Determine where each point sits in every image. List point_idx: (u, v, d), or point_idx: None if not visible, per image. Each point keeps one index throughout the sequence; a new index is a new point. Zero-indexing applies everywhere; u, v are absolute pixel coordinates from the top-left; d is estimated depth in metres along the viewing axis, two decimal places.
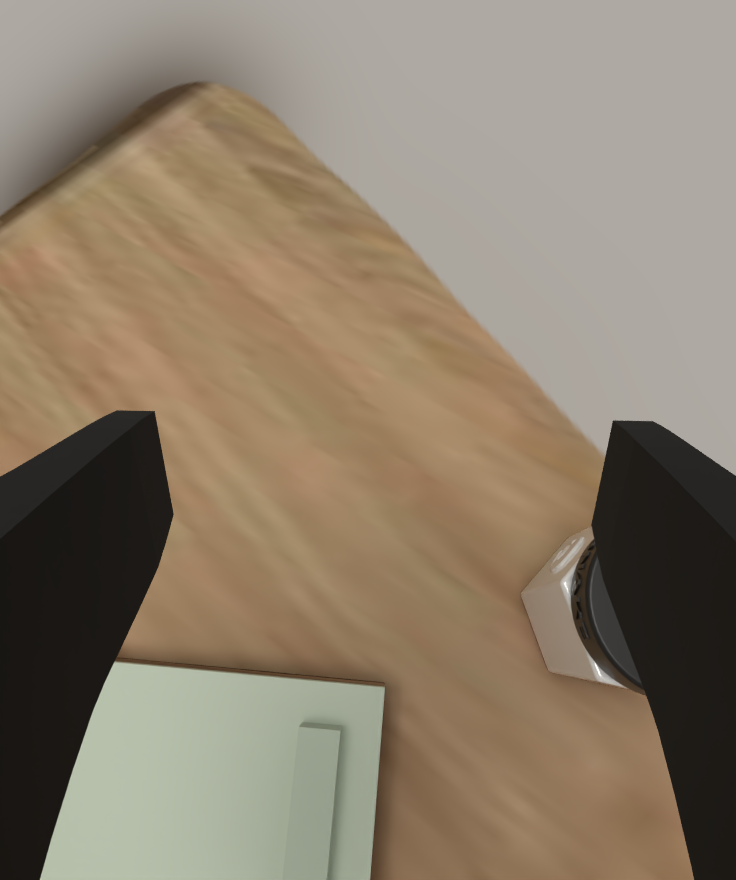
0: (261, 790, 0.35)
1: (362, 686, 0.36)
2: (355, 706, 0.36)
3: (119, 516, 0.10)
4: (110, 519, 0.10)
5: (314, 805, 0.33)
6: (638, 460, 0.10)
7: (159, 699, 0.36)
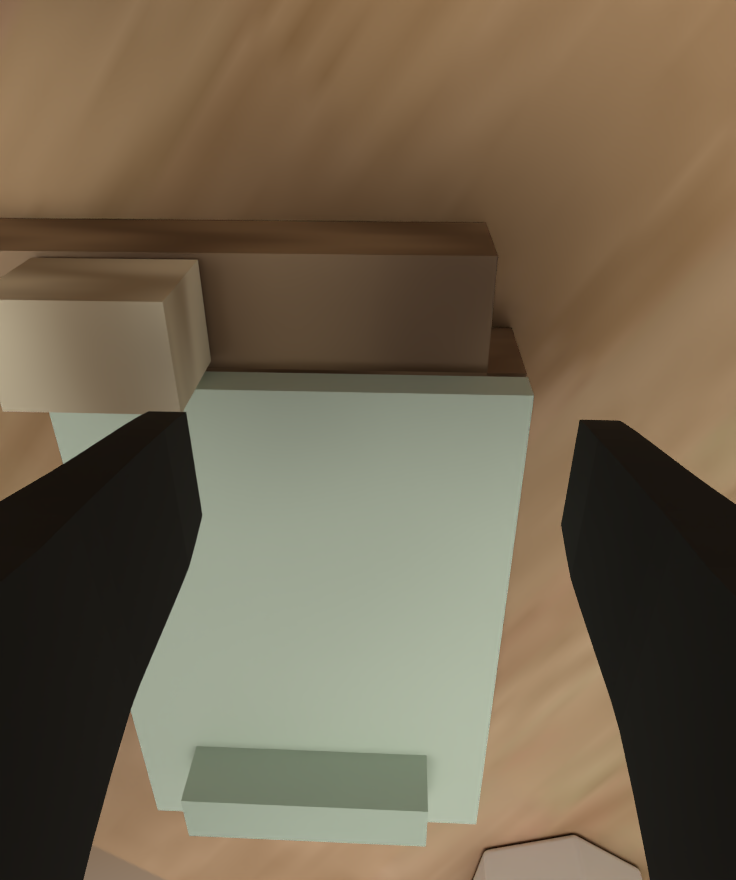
0: (329, 720, 0.23)
1: (477, 805, 0.26)
2: (450, 800, 0.26)
3: (154, 517, 0.10)
4: (147, 520, 0.10)
5: (325, 827, 0.23)
6: (601, 459, 0.10)
7: (451, 597, 0.20)
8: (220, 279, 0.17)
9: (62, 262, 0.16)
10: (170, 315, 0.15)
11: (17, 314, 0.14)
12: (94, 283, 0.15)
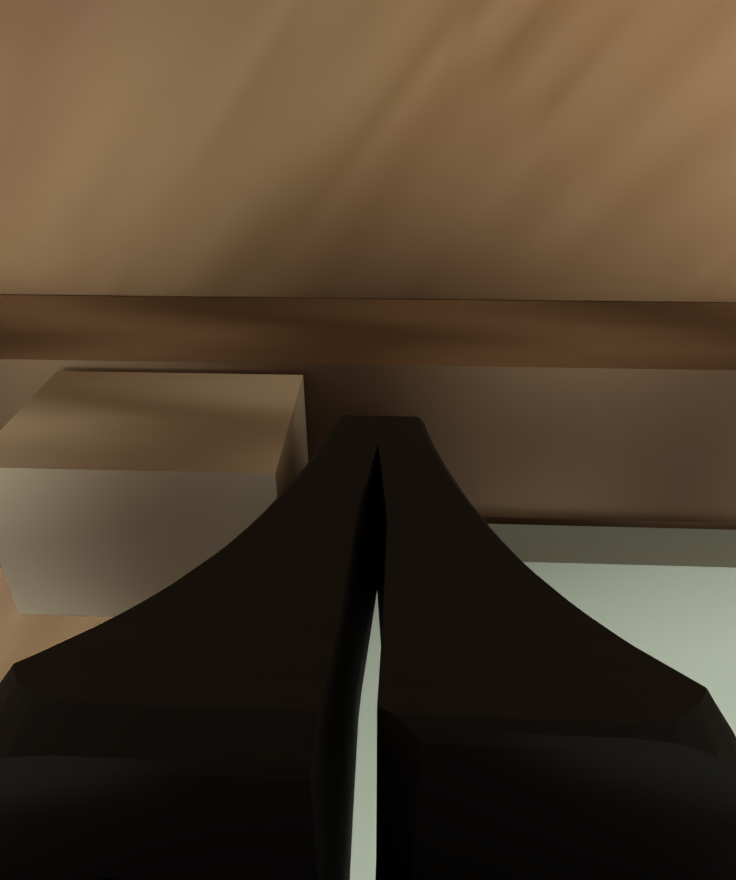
0: None
1: None
2: None
3: (373, 523, 0.10)
4: (371, 527, 0.09)
5: None
6: None
7: None
8: (408, 401, 0.12)
9: (104, 381, 0.11)
10: (281, 485, 0.09)
11: (42, 488, 0.09)
12: (159, 428, 0.10)
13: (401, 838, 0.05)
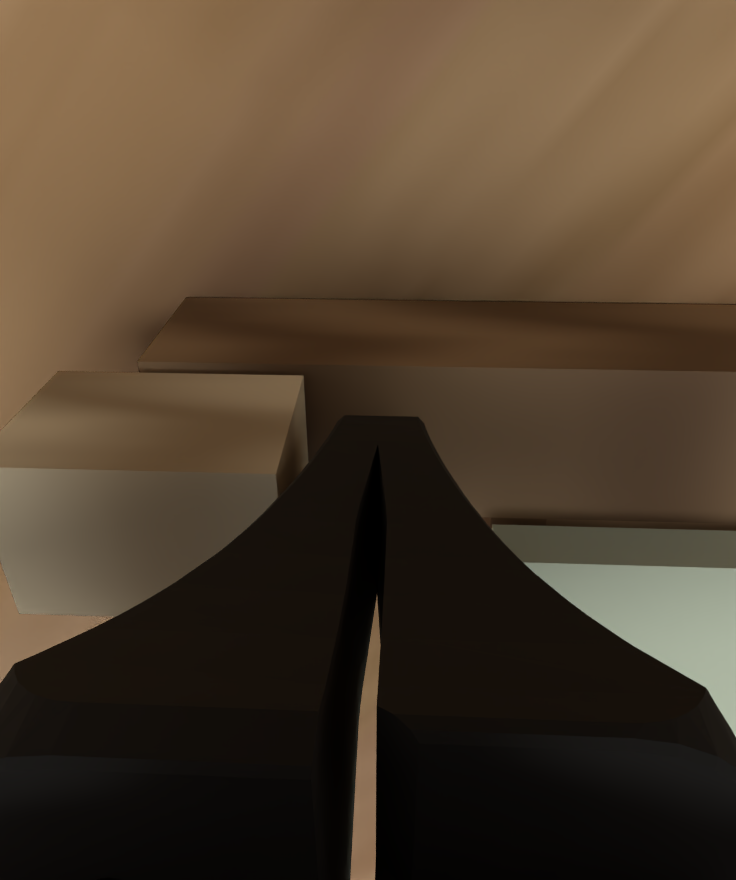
0: None
1: None
2: None
3: (374, 523, 0.10)
4: (371, 526, 0.09)
5: None
6: None
7: None
8: None
9: (105, 381, 0.11)
10: (282, 485, 0.09)
11: (44, 488, 0.09)
12: (160, 428, 0.10)
13: (400, 837, 0.05)
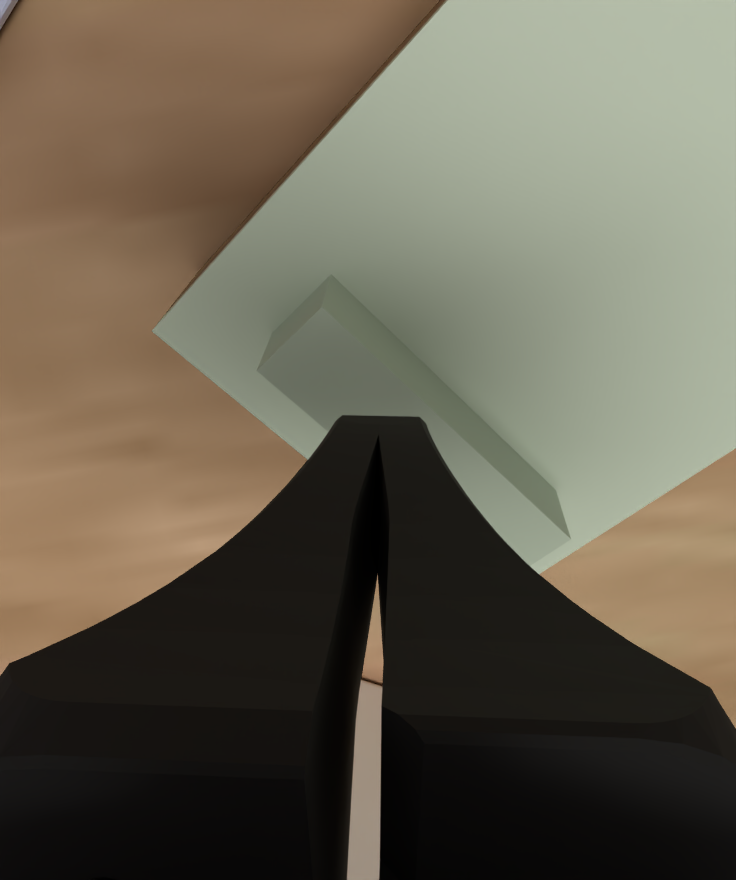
0: (525, 365, 0.16)
1: None
2: None
3: (371, 523, 0.10)
4: (369, 526, 0.09)
5: None
6: (379, 454, 0.10)
7: None
8: None
9: None
10: None
11: None
12: None
13: (405, 838, 0.05)
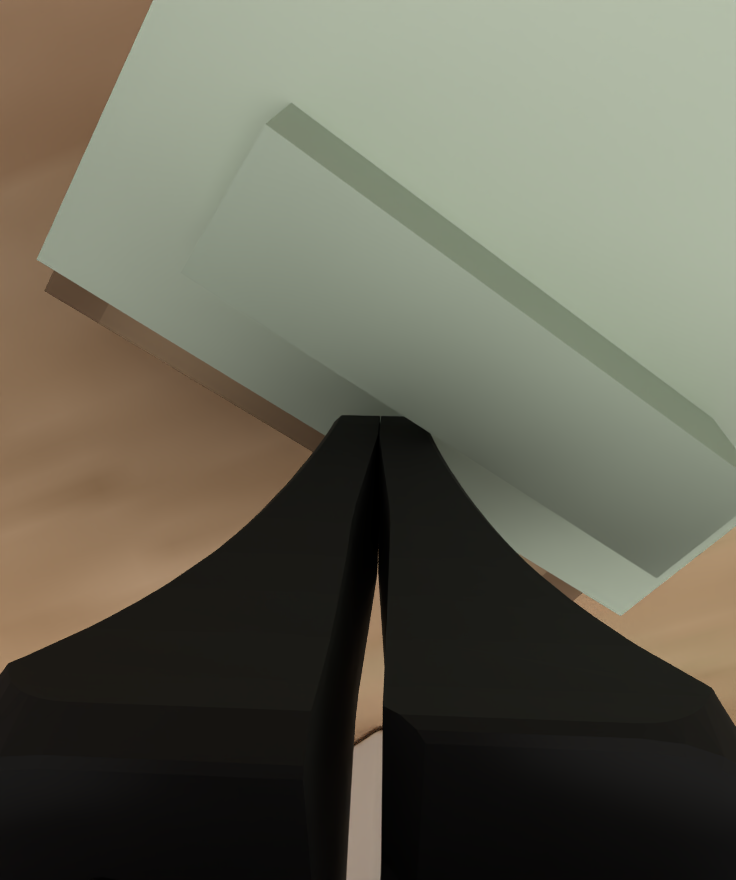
0: (642, 209, 0.10)
1: (663, 578, 0.13)
2: None
3: (370, 523, 0.10)
4: (368, 527, 0.09)
5: (527, 424, 0.09)
6: (380, 454, 0.10)
7: None
8: None
9: None
10: None
11: None
12: None
13: (406, 837, 0.05)
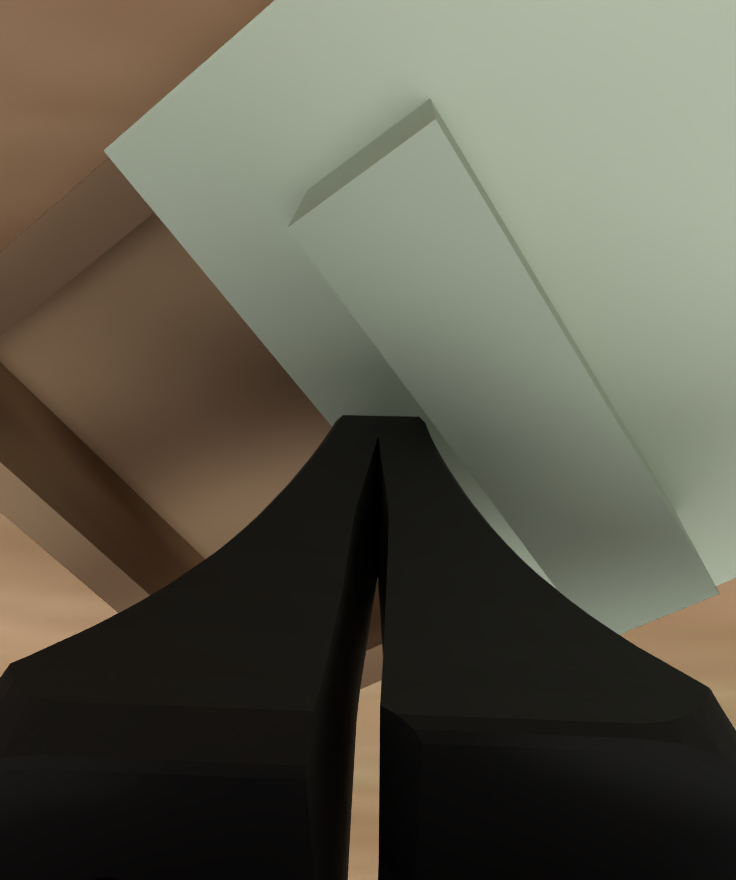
0: (695, 313, 0.10)
1: None
2: None
3: (371, 523, 0.10)
4: (370, 527, 0.09)
5: (548, 476, 0.10)
6: (379, 454, 0.10)
7: None
8: None
9: None
10: None
11: None
12: None
13: (404, 838, 0.05)
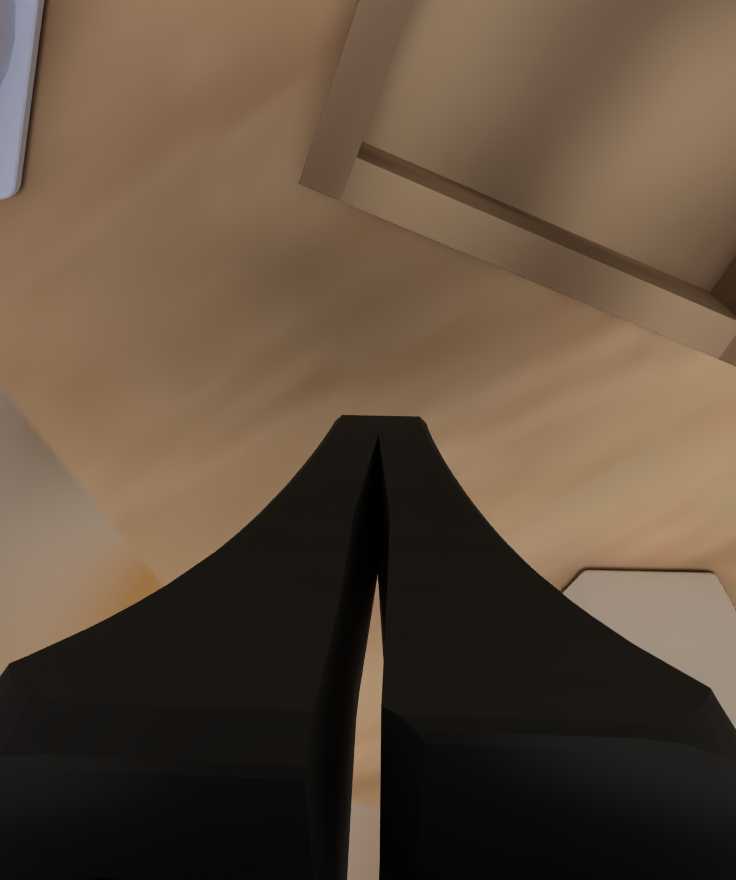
0: None
1: None
2: None
3: (371, 523, 0.10)
4: (369, 526, 0.09)
5: None
6: (379, 454, 0.10)
7: None
8: None
9: None
10: None
11: None
12: None
13: (404, 838, 0.05)
